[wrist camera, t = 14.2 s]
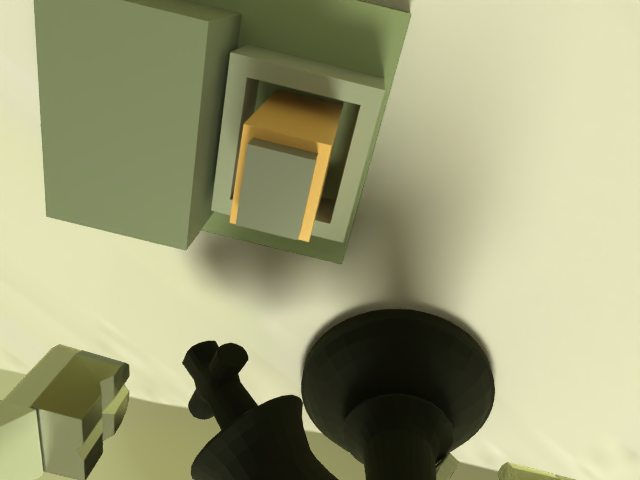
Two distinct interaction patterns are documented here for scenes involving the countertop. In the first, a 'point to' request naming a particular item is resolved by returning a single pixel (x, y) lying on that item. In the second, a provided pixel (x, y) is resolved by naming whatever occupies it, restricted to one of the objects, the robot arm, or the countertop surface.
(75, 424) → the robot arm
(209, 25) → the green plate with frame
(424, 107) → the countertop surface
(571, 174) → the countertop surface
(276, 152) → the yellow box green face
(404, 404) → the sculpture
